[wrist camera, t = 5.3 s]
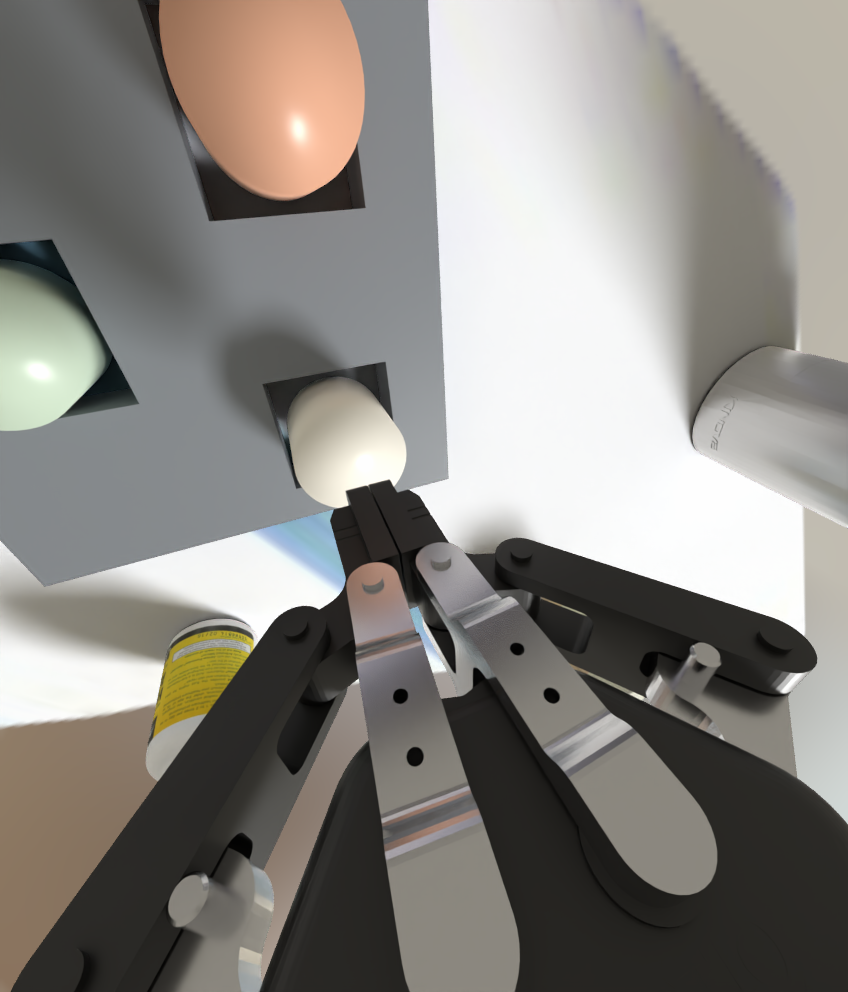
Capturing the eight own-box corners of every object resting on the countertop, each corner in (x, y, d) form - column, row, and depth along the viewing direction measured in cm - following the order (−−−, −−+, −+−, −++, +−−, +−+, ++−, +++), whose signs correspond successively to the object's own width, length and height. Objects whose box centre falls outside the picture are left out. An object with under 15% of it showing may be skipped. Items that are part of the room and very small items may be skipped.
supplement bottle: (152, 631, 24) (106, 817, 17) (245, 605, 26) (242, 765, 18) (186, 679, 27) (161, 853, 20) (267, 653, 29) (273, 806, 21)
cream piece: (375, 368, 18) (400, 397, 15) (387, 453, 21) (411, 492, 18) (274, 386, 17) (279, 422, 14) (301, 474, 20) (310, 520, 17)
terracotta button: (321, 4, 12) (346, -75, 9) (349, 196, 14) (376, 188, 11) (154, -2, 11) (114, -94, 8) (218, 206, 13) (208, 200, 10)
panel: (397, -72, 13) (422, -123, 11) (433, 459, 24) (448, 478, 23) (-541, -157, 8) (-783, -274, 6) (64, 552, 20) (44, 586, 18)
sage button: (69, 252, 14) (16, 259, 11) (135, 379, 17) (108, 414, 13) (-93, 267, 13) (-203, 280, 10) (6, 401, 15) (-56, 444, 12)
